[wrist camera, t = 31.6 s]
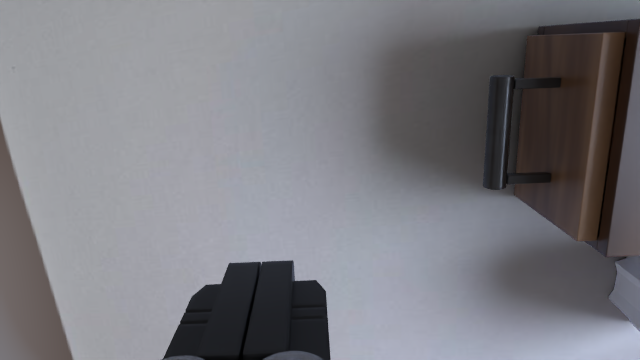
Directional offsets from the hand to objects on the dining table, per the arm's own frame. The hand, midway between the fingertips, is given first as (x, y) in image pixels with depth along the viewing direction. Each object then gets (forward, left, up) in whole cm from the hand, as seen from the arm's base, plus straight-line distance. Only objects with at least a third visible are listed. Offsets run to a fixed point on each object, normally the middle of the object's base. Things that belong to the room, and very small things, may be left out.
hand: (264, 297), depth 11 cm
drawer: (0, +21, -24) cm, 32 cm away
